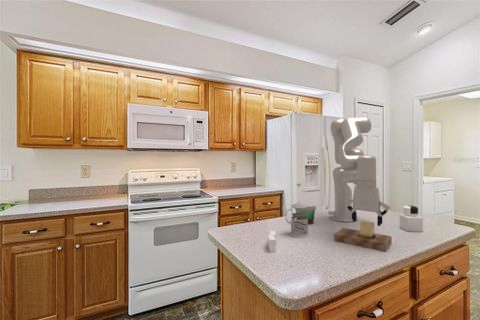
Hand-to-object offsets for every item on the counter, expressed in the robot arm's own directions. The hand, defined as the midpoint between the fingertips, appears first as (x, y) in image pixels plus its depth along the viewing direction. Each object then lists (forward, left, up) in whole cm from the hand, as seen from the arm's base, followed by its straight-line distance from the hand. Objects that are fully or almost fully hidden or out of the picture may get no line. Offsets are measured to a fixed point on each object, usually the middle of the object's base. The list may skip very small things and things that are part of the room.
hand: (366, 223), depth 103 cm
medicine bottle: (+12, +34, -9) cm, 37 cm away
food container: (-35, +12, -9) cm, 38 cm away
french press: (-29, -8, -9) cm, 31 cm away
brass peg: (0, 0, -8) cm, 8 cm away
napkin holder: (-29, -29, -9) cm, 42 cm away
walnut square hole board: (-2, 0, -8) cm, 9 cm away
